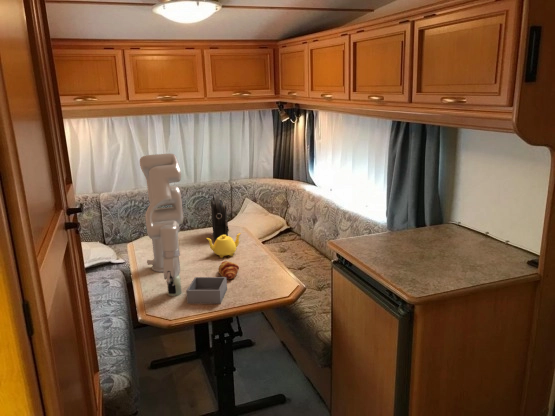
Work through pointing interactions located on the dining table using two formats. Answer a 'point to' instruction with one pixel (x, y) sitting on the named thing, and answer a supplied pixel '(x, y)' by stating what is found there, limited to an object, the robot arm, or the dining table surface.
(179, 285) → the pale green rounded block
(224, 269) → the croissant
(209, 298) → the bin
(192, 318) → the dining table surface
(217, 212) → the shoulder bag
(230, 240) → the teapot
